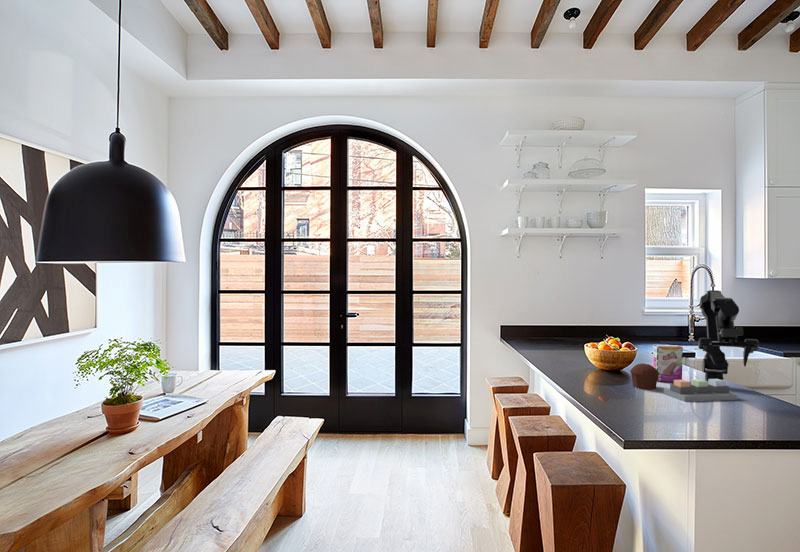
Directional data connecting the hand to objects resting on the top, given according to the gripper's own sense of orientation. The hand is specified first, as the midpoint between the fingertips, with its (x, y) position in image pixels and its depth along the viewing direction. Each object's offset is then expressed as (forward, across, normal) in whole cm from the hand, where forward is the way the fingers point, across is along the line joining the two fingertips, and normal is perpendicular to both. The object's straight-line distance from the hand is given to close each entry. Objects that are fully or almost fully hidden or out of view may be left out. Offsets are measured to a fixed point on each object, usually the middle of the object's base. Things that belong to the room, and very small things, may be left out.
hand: (730, 365), depth 175 cm
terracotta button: (+8, -16, +8) cm, 19 cm away
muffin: (+5, -29, +20) cm, 35 cm away
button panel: (+9, -10, +13) cm, 19 cm away
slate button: (+4, -3, +15) cm, 16 cm away
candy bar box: (-4, -19, +36) cm, 41 cm away
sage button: (+6, -9, +12) cm, 16 cm away
